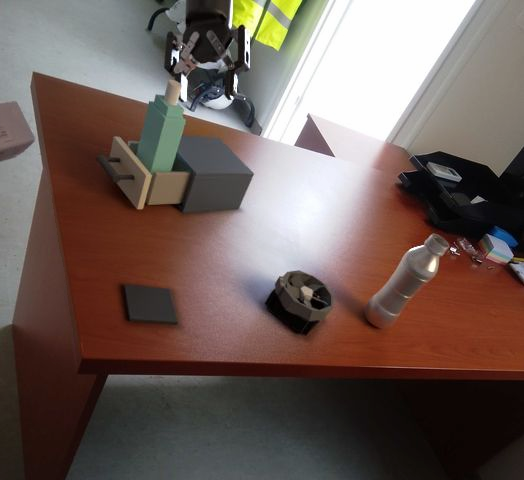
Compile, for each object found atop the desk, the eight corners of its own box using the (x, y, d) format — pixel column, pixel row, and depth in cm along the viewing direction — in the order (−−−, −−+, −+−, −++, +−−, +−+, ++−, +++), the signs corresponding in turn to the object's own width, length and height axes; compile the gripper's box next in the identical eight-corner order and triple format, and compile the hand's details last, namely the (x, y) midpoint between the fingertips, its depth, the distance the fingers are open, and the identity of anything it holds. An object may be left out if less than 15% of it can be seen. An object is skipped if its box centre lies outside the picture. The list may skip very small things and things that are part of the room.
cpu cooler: (343, 296, 81) (321, 320, 73) (327, 318, 84) (304, 342, 77) (297, 261, 82) (271, 281, 74) (284, 284, 86) (257, 305, 78)
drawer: (115, 210, 78) (123, 175, 73) (85, 170, 82) (91, 134, 77) (198, 206, 89) (209, 175, 85) (168, 171, 93) (177, 140, 89)
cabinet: (182, 213, 87) (196, 173, 82) (149, 173, 92) (160, 133, 86) (238, 209, 97) (254, 173, 91) (206, 173, 101) (219, 137, 96)
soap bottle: (145, 192, 83) (172, 90, 70) (131, 175, 85) (155, 72, 72) (164, 192, 86) (194, 93, 73) (150, 175, 87) (177, 76, 75)
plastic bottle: (371, 333, 87) (440, 252, 74) (354, 307, 91) (417, 226, 77) (394, 332, 91) (463, 255, 78) (376, 307, 94) (440, 229, 81)
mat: (128, 321, 64) (129, 318, 64) (123, 286, 68) (124, 283, 68) (176, 324, 67) (178, 322, 67) (169, 291, 71) (170, 289, 71)
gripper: (158, -17, 72) (155, 92, 74) (244, -28, 68) (237, 87, 70) (180, 11, 79) (176, 110, 81) (258, 3, 75) (252, 106, 78)
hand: (204, 99), depth 76 cm, fingers open, 8 cm apart
